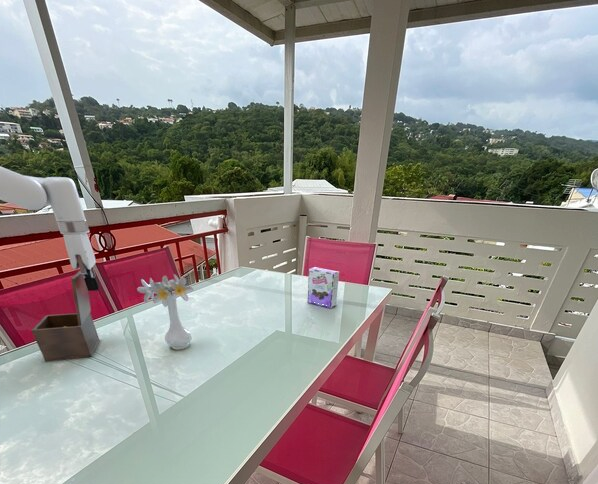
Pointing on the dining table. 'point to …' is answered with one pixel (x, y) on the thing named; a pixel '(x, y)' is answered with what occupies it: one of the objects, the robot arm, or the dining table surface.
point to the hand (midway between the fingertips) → (94, 289)
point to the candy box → (323, 287)
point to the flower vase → (170, 307)
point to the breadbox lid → (81, 297)
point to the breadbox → (65, 337)
